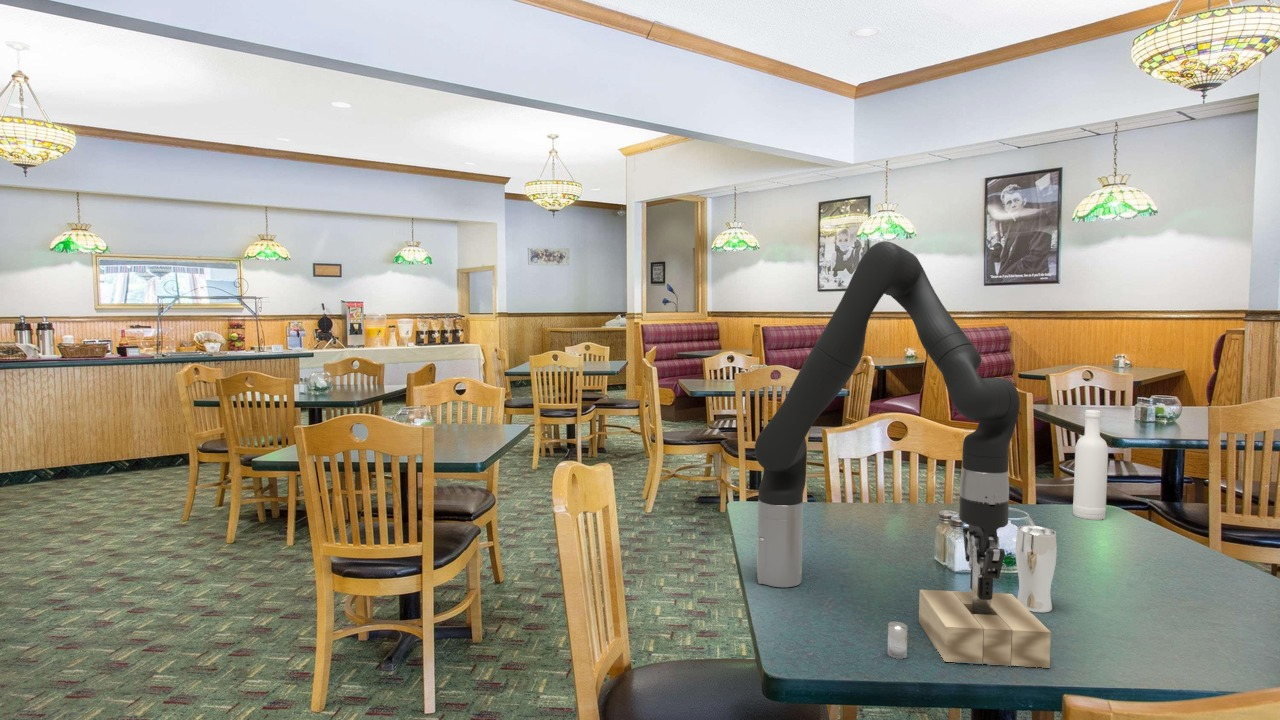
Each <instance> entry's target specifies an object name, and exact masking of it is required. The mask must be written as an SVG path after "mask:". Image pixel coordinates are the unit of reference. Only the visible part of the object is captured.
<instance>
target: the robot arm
mask: <svg viewBox="0 0 1280 720" xmlns="http://www.w3.org/2000/svg"><path fill="white" fill-rule="evenodd" d="M934 289H935V288H933V286H932V284H931V282H930V280H929V278H928V276H927V273H926V272H925V270H924V267H923V266H922V264H921V262H920V261H919V259H918V257H917V256H916V255H915V254H914V253H912V252H911V251H909V250H908V249H905V248H903V247H901V246H900V245H898V244H896V243H894V242H890V241H888V240H887V241H886V240H883V241H879V242H877V243H875V244H873V245H872V246H870V247H869V248H868V249H867V250H866V251H865V252H864V254H863V255H862V257H861V258H860V260H859V262H858V264H857V266H856V268H855V270H854V272H853V275H852V277H851V279H850V281H849V283H848V285H847V288H846V290H845V292H844V294H843V296H842V298H841V300H840V301H839V304H838V306H837V307H836V308H835V311H834V312H833V313H832V316H831V317H830V319H829V320H828V322H827V325H826V326H825V328H824V330H823V332H822V333H821V334H820V336H819V337H818V339H817V340H816V342H815V344H814V346H813V347H812V348H811V351H810V352H809V354H808V355H807V357H806V359H805V361H804V363H803V365H802V366H801V368H800V370H799V372H798V374H797V375H796V377H795V378H794V381H793V383H792V385H791V387H790V389H789V391H788V393H787V395H786V396H785V398H784V401H783V402H782V404H781V405H780V406H779V408H778V409H777V411H776V412H775V413H774V414H773V416H772V418H771V419H770V421H768V423H767V424H766V426H765V427H764V428H763V429H762V430H761V432H760V433H759V434H758V436H757V438H756V440H755V444H754V454H755V455H754V456H755V459H756V461H757V463H758V464H759V466H761V467H762V468H763V473H762V478H761V481H760V484H759V486H758V493H757V494H758V496H757V497H758V499H757V500H758V501H757V502H758V505H757V508H758V509H757V514H758V515H757V516H758V517H757V519H758V521H757V532H756V533H757V534H756V537H757V539H756V543H757V544H756V577H757V584H759V585H761V584H762V585H766V586H768V587H774V588H775V587H776V588H792V587H796V586H798V585H801V583H802V577H803V575H802V574H803V569H802V568H803V565H802V564H803V514H804V513H803V509H804V507H803V506H804V505H803V504H804V501H803V500H804V499H803V498H804V490H805V486H806V480H807V463H808V462H807V461H808V460H807V459H808V448H807V447H808V445H807V440H806V436H807V434H809V432H810V429H811V428H812V426H813V425H814V423H815V421H816V420H817V419H818V418H819V416H820V415H821V414H822V413H823V412H824V411H825V410H826V408H828V407H829V406H830V404H831V403H832V402H833V401H834V399H835V398H837V396H838V395H839V394H840V392H841V391H842V390H843V388H844V387H845V386H846V384H847V383H848V381H849V380H850V378H851V377H852V375H853V374H854V372H855V371H856V368H857V367H858V365H859V363H860V362H861V360H862V356H863V354H864V349H865V344H866V343H865V342H866V335H867V330H868V329H867V328H868V324H869V320H870V318H871V316H872V315H873V314H872V313H873V312H874V310H875V308H876V307H877V305H878V303H879V302H880V300H881V298H883V296H884V295H886V296H890V297H891V298H893V300H895V301H896V303H898V304H899V305H900V306H901V307H902V308H903V309H904V310H905V311H906V313H907V314H908V316H910V318H911V320H912V322H913V324H914V328H915V330H916V332H917V335H918V338H919V340H920V343H921V345H922V348H923V349H924V350H925V352H926V353H927V355H928V356H929V358H930V359H931V360H932V362H933V364H934V365H935V366H936V367H937V369H938V370H939V372H941V375H942V377H943V381H944V385H945V387H946V389H947V392H948V396H949V397H950V401H951V403H952V405H953V406H954V408H955V409H956V411H957V412H958V413H959V414H960V415H962V416H963V417H964V418H966V419H968V420H970V421H974V422H977V421H978V425H977V427H976V429H975V430H974V431H973V432H971V433H969V434H968V435H966V436H965V437H964V438H963V443H962V457H961V458H962V460H961V461H962V463H961V464H962V465H961V466H962V467H961V474H960V479H959V480H960V482H959V508H958V509H959V511H958V512H959V513H958V514H959V515H958V518H959V520H960V521H961V522H962V523H963V524H966V525H968V526H963V527H962V533H963V534H962V535H963V544H964V554H965V561H966V562H968V567H969V569H970V583H969V585H970V586H969V587H970V590H971V591H972V577H973V546H974V561H975V562H976V563H977V564H978V589H977V596H978V598H979V599H981V600H991V599H992V596H993V593H994V589H993V588H994V579H997V580H998V579H1000V576H1001V571H1002V568H1003V565H1004V564H1003V563H1004V560H1005V557H1006V552H1005V549H1003V548H999V547H1000V538H999V536H998V532H997V531H998V530H999V529H1000V528H1005V527H1006V526H1008V524H1009V509H1010V508H1009V507H1010V506H1009V505H1010V502H1009V501H1010V481H1009V480H1010V479H1009V454H1010V453H1009V446H1010V443H1011V440H1012V437H1013V434H1014V432H1015V428H1016V425H1017V420H1018V417H1019V412H1020V407H1021V400H1020V394H1019V392H1018V389H1017V387H1016V386H1015V384H1014V383H1013V382H1011V380H1009V379H1007V378H1004V377H981V376H980V374H978V372H977V370H978V369H979V368H980V366H981V364H982V356H981V354H980V352H979V350H978V349H977V347H975V345H974V344H973V342H972V341H971V340H970V339H969V337H968V336H967V335H966V333H965V332H964V331H963V329H962V328H961V326H960V325H958V323H957V322H956V320H955V319H954V318H953V317H952V315H951V314H950V313H949V312H948V310H947V309H946V307H945V306H944V305H943V303H942V301H941V300H940V298H939V296H938V294H937V293H936V291H935V290H934ZM980 557H985V559H981V558H980ZM989 569H990V571H988V570H989Z"/></svg>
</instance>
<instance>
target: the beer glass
mask: <svg viewBox="0 0 1280 720" xmlns="http://www.w3.org/2000/svg"><path fill="white" fill-rule="evenodd" d="M1057 554H1058V547H1057V531H1056V530H1054V529H1052V528H1051V529H1050V528H1049V527H1044V526H1039V525H1020V526H1018V527H1017V532H1016V540H1015V563H1016V568H1017V575H1018V585H1019V587H1018V592H1017V593H1018V594H1017V597H1016V599H1017V600H1018V601H1020V602H1021V603H1022V604H1023V605H1024V606H1025V607H1026V608H1027V609H1028V610H1029V611H1030V612H1031V613H1042V614H1043V613H1049V612H1052V610H1053V605H1052V599H1051V586H1052V582H1053V578H1054V574H1055V570H1056V564H1057V558H1058V555H1057Z"/></svg>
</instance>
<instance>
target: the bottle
mask: <svg viewBox="0 0 1280 720" xmlns="http://www.w3.org/2000/svg"><path fill="white" fill-rule="evenodd" d="M1084 417H1085V418H1084V434H1083V435H1082V436H1081V437H1079V439H1077V442H1076V444H1075V448H1074V475H1073V476H1074V477H1073V498H1072V500H1073V503H1072V515H1073V516H1075V517H1076V518H1080V519H1083V520H1089V521H1091V520H1092V521H1102V519H1103V520H1105V519H1106V515H1107V514H1106V513H1107V487H1108V486H1107V484H1108V465H1109V464H1108V463H1109V461H1108V460H1109V447H1108V444H1107V441H1106V440H1105V439H1104V438H1102V436H1101V418H1102V411H1100V410H1098V409H1086V410H1085V414H1084Z"/></svg>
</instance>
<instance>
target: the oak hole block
mask: <svg viewBox="0 0 1280 720" xmlns="http://www.w3.org/2000/svg"><path fill="white" fill-rule="evenodd" d="M918 597H919V598H918V599H919V601H918V602H919V603H918V605H919V606H918V623H919V624H920V626H921V627H922V629H923V630H924V632H925V634H926V636H927V637H928V639H929V640H930V642H931V643H932V645H933V647H934V649H935V650H936V649H937V650H936V652H937V653H938V652H939V653H938V655H939V654H940V655H941V656H940V655H939V656H940V657H942V658H943V659H942V658H941V659H942V661H943V660H944V661H946V662H972V663H973V662H974V663H982V662H983V663H989V664H999V665H1014V666H1015V665H1016V666H1025V667H1026V666H1027V667H1036V668H1035V669H1038V668H1037V667H1042V668H1041V669H1043V668H1050V665H1051V661H1050V660H1051V640H1052V638H1051V637H1052V632H1051V630H1050V629H1048V628H1047V626H1045V625H1044V624H1043V623H1042V622H1041V621H1040V620H1039V619H1038V618H1037V617H1036V616H1035V615H1034V614H1033V612H1032V611H1029V610H1028V609H1027V608H1026V607H1025V606H1024V605H1023V604H1022V603H1021V602H1020V601H1018V600H1017V597H1015V596H1014V594H1012V593H1003V592H1002V593H1000V592H993V596H992V599H991V615H983V614H971V611H972V591H960V590H959V591H955V590H938V589H937V590H935V589H919V596H918ZM944 661H943V662H944ZM1025 667H1024V668H1025Z"/></svg>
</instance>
